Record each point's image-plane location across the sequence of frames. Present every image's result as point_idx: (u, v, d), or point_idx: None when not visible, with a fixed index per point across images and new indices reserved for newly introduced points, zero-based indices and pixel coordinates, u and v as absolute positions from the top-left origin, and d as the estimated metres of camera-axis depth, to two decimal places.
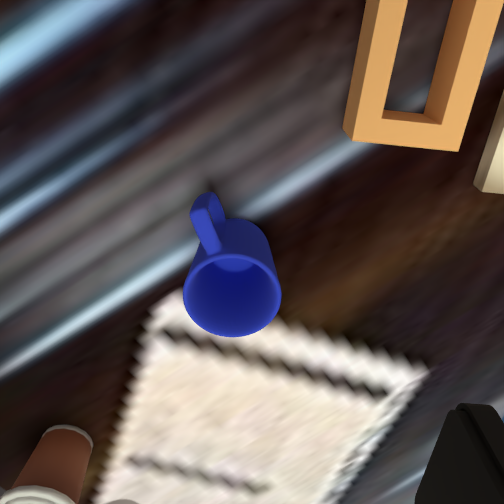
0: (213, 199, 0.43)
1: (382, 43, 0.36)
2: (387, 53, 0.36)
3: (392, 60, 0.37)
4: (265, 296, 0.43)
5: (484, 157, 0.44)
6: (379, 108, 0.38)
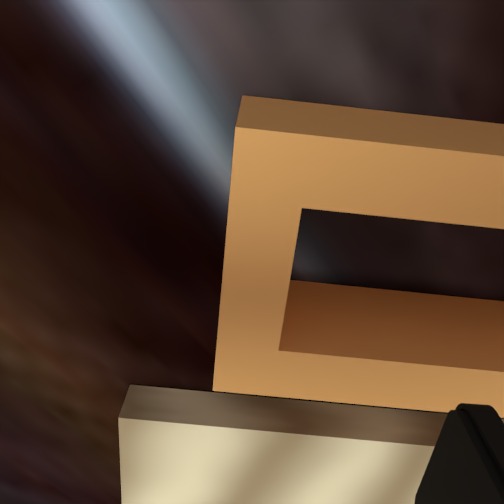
0: None
1: None
2: (481, 204, 0.13)
3: (460, 219, 0.13)
4: None
5: (188, 398, 0.22)
6: (331, 199, 0.13)
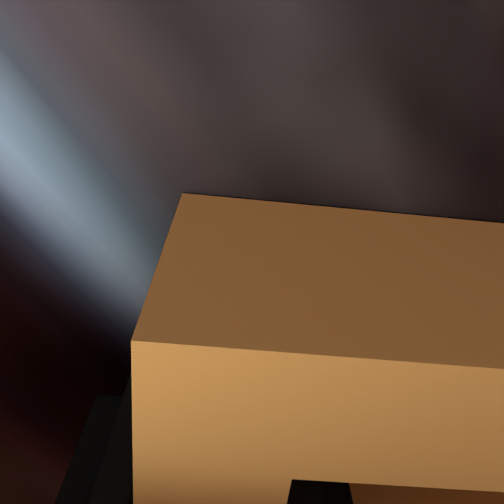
0: None
1: None
2: None
3: None
4: None
5: None
6: (355, 464, 0.06)
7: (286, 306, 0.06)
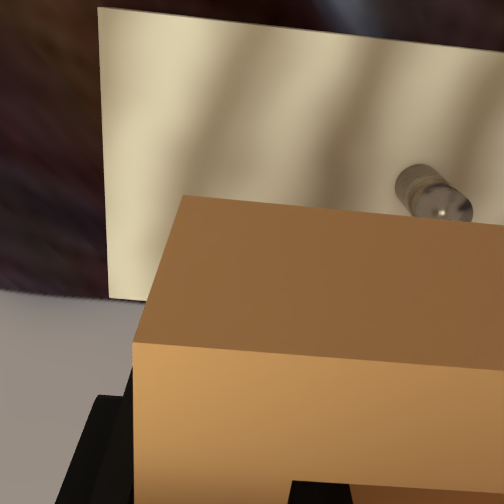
0: None
1: None
2: None
3: None
4: None
5: (163, 13, 0.24)
6: (355, 465, 0.06)
7: (286, 308, 0.06)
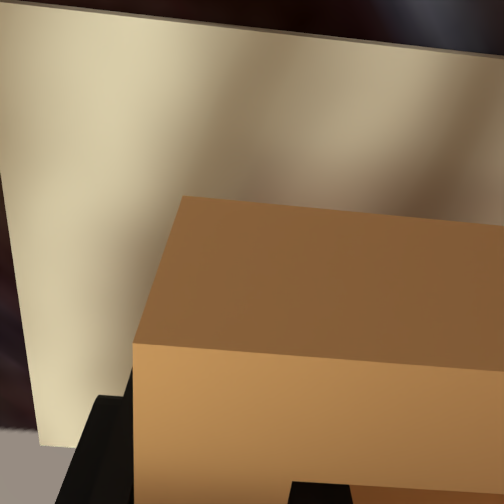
0: None
1: None
2: None
3: None
4: None
5: (104, 11, 0.13)
6: (355, 466, 0.06)
7: (286, 309, 0.06)
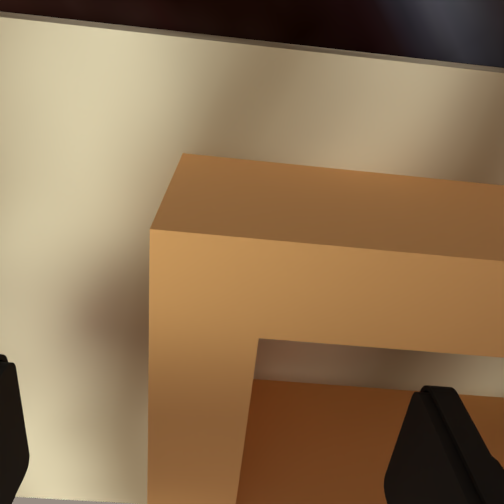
0: None
1: None
2: None
3: (491, 350, 0.09)
4: None
5: (77, 21, 0.12)
6: (302, 326, 0.09)
7: (254, 217, 0.09)
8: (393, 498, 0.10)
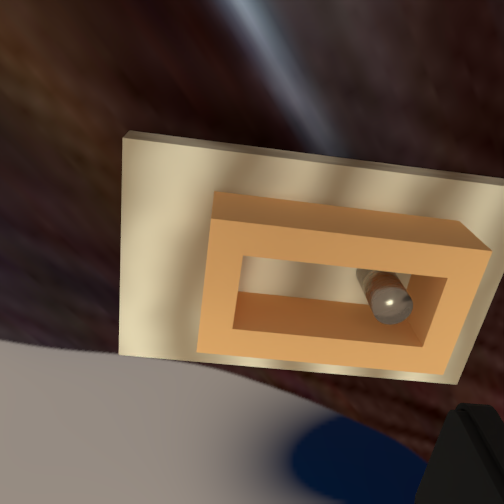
0: None
1: (342, 247, 0.27)
2: (329, 254, 0.27)
3: (320, 261, 0.27)
4: None
5: (173, 138, 0.30)
6: (257, 251, 0.27)
7: (242, 215, 0.27)
8: None
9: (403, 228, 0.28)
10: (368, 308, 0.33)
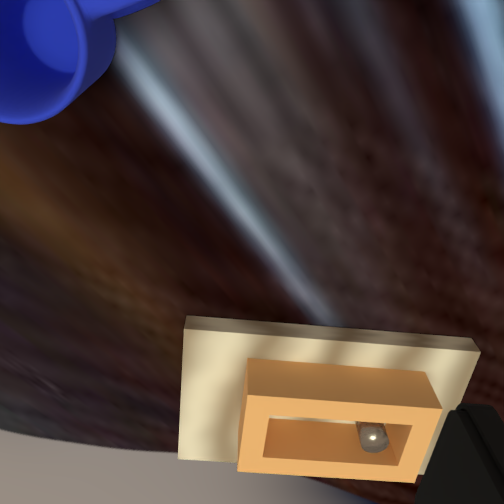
0: None
1: (337, 409, 0.39)
2: (328, 413, 0.39)
3: (322, 417, 0.39)
4: (7, 93, 0.26)
5: (217, 321, 0.42)
6: (279, 412, 0.39)
7: (268, 388, 0.39)
8: None
9: (381, 388, 0.40)
10: None
